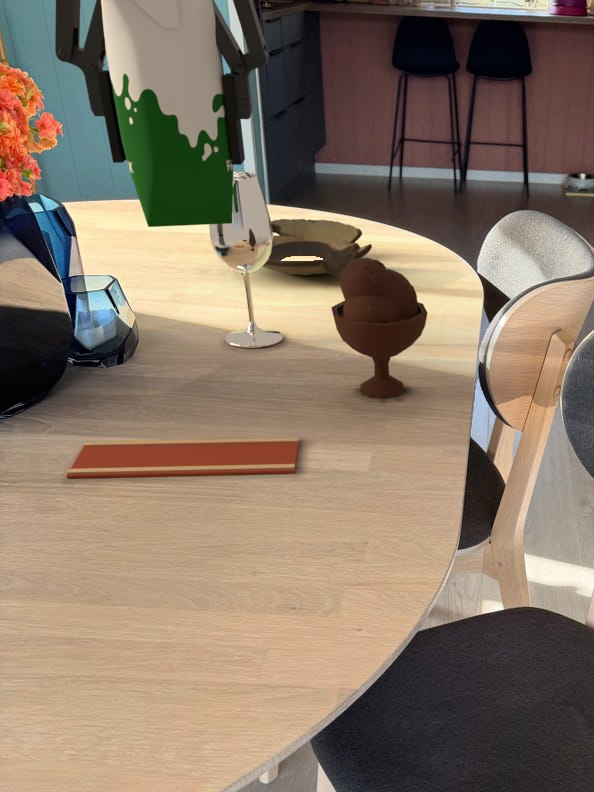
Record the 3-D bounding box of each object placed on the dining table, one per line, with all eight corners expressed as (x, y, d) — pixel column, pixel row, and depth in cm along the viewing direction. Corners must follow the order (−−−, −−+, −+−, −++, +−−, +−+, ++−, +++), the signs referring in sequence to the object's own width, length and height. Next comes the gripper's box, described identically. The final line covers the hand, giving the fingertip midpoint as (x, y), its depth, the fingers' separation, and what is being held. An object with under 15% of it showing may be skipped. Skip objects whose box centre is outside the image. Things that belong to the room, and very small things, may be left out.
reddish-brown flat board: (67, 478, 91) (65, 474, 91) (87, 444, 97) (86, 440, 97) (294, 473, 93) (294, 469, 93) (299, 439, 99) (299, 435, 99)
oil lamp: (359, 247, 166) (357, 200, 161) (388, 295, 143) (386, 242, 138) (231, 252, 161) (225, 204, 157) (240, 303, 138) (233, 248, 133)
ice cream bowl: (381, 415, 105) (375, 277, 96) (318, 388, 111) (307, 257, 102) (446, 390, 111) (446, 259, 103) (383, 367, 117) (378, 241, 109)
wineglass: (212, 340, 124) (187, 176, 112) (254, 326, 129) (235, 167, 118) (253, 353, 121) (232, 184, 109) (295, 337, 126) (280, 175, 114)
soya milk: (133, 208, 85) (85, -65, 73) (234, 204, 88) (202, -61, 76) (137, 230, 79) (84, -66, 67) (246, 225, 81) (213, -61, 69)
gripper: (-48, -198, 63) (36, 166, 77) (278, -183, 65) (305, 171, 78) (-10, -185, 69) (61, 151, 83) (287, -171, 71) (311, 155, 84)
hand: (180, 160), depth 81 cm, fingers closed on soya milk, 9 cm apart
